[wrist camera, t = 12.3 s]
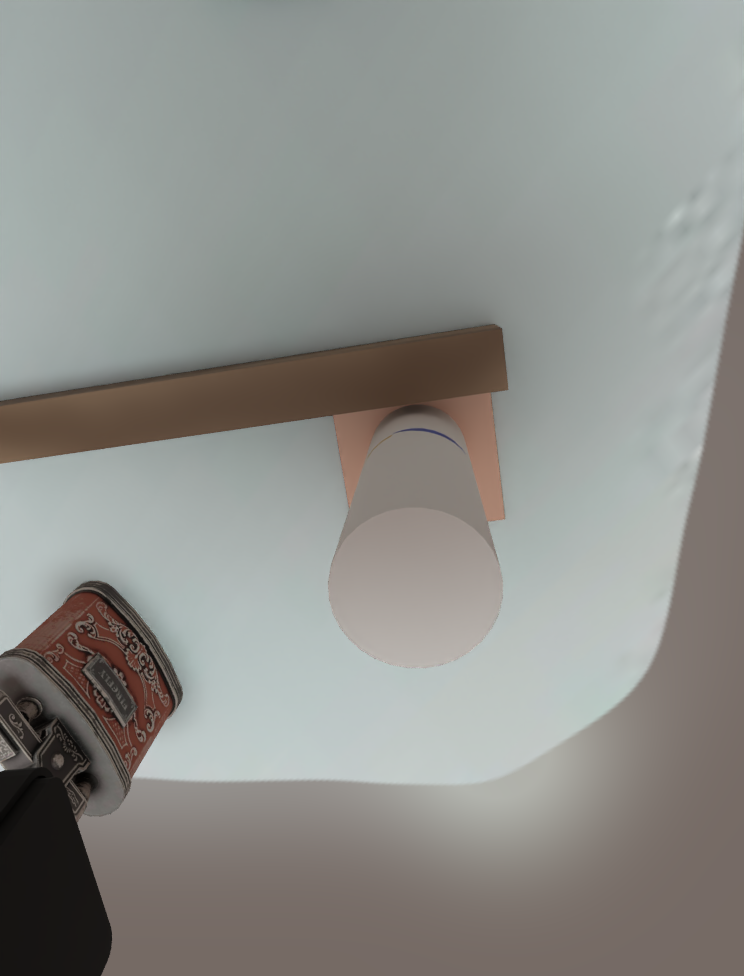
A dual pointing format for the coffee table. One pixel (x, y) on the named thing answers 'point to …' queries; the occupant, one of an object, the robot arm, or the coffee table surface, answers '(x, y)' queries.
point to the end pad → (470, 418)
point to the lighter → (86, 697)
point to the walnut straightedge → (255, 394)
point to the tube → (416, 547)
